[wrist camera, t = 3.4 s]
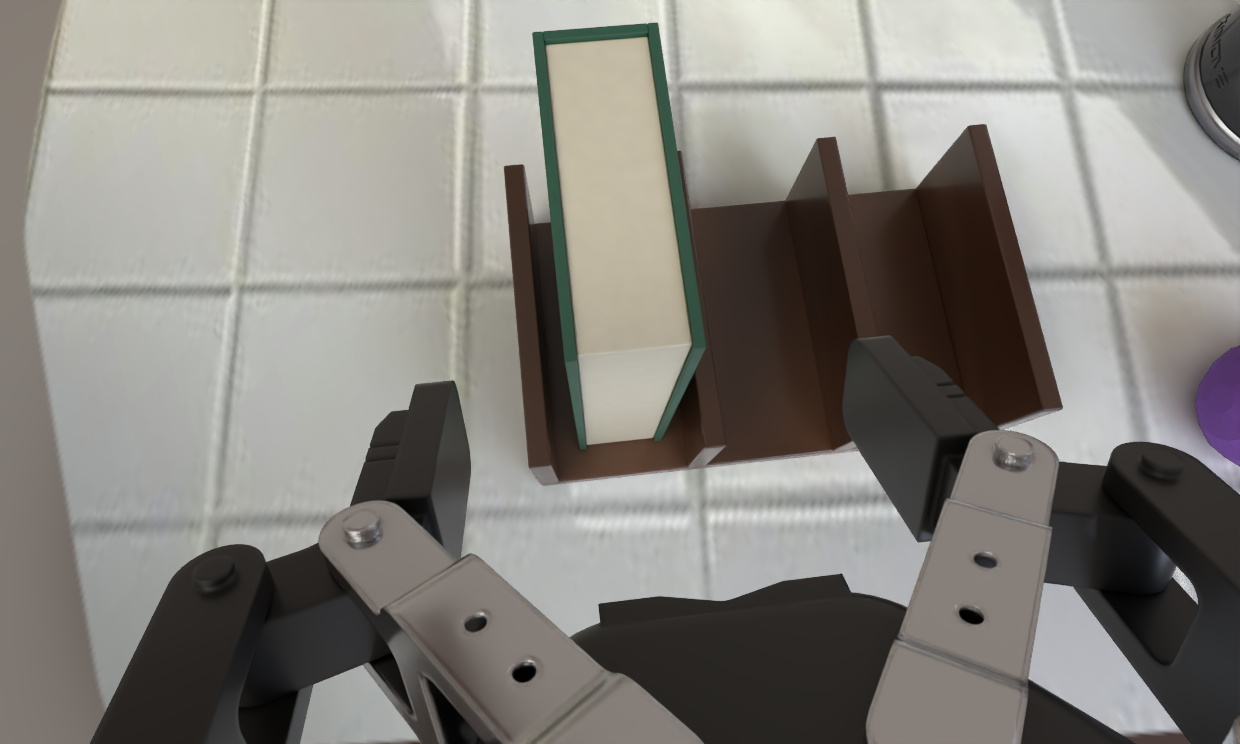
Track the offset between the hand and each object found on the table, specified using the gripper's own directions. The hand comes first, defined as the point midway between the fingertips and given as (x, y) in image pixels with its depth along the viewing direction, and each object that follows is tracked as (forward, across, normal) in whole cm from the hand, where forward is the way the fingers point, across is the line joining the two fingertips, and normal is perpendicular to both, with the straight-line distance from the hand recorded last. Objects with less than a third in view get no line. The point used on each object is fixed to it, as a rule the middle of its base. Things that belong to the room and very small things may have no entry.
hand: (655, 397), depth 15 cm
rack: (+17, -6, +8) cm, 20 cm away
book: (+16, 0, +7) cm, 18 cm away
